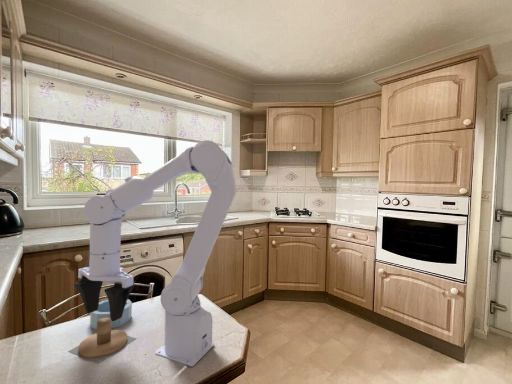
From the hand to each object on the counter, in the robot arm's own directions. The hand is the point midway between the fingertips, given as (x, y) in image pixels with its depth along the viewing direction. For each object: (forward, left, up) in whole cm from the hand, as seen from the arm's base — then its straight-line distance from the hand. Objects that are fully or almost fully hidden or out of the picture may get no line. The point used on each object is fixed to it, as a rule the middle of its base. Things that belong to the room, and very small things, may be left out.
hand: (104, 315), depth 55 cm
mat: (0, 0, -7) cm, 7 cm away
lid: (0, 0, -6) cm, 6 cm away
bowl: (+8, -8, -7) cm, 13 cm away
